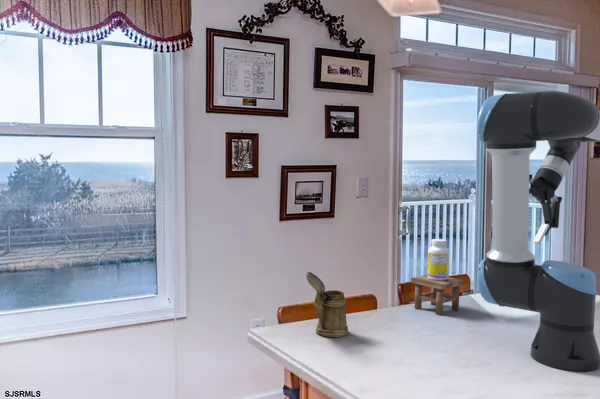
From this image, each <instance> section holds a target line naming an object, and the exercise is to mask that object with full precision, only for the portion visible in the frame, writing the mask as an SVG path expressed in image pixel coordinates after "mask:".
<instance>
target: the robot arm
mask: <svg viewBox="0 0 600 399" xmlns="http://www.w3.org/2000/svg"><path fill="white" fill-rule="evenodd" d="M476 133H477V137H478V139H479V140H480V142H483V143H485V145H486V146H485V149H486V151H487V152H488V153H489V154H490V155H491V157H492V162H491V163H492V165H491V166H492V175H491V176H492V177H491V178H492V183H491V185H492V189H491V190H492V192H491V193H492V204H491V205H492V208H491V210H492V218H491V219H492V220H491V221H492V222H491V224H492V227H491V228H492V231H491V235H492V237H491V240H492V242H491V243H492V244H491V247H492V248H491V249H489V251H488V252H486V254H485V258H483V259H481V261H480V262H479V264H478V268H477V269H478V271H477V274H476V280H477V286H478V287H477V288H478V290H479V294H480V295H481V297H482V299H483V300H484V301H485V302H487V303H489V304H493V305H496V306H499V307H503V308H504V307H506V308H511V309H518V310H522V311H529V312H535V313H539V316H540V317H539V326H538V328H537V331H536V333H535V336H534V338H533V341H532V343H531V345H530V356H531V358H532V359H533V360H535V361H537V362H538V363H540V364H543V365H546V366H548V367H551V368H556V369H560V370H566V371H572V372H574V371H575V372H589V371H592V372H593V371H596V370H598V369H600V349H599V346H598V343H597V339H596V337H595V331H594V329H595V328H594V327H595V314H596V313H595V311H596V296H597V293H598V291H597V279H596V275H595V273H594V272H593V271H592V270H591V269H589V268H587V267H584V266H582V265H578V264H575V263H572V262H567V261H562V260H561V261H560V260H545V261H543V262H542V264H541V265H539V264H536V260H535V259H536V256H535V254H533V252H532V251H531V250H530V249H529V230H530V229H529V228H530V227H529V226H530V225H529V224H530V223H529V219H530V217H529V215H530V214H529V213H530V211H529V210H530V194H531V196H532V198H535V199H536V200H537V201H539V202H540V205H541V207H542V214H543V215H542V216H543V222H544V223H542V224H541V225H540V227H539V229H538V231H537V233H536V234H535V236H534V239H533V240H532V243H534V244H541V242H542V241H543V238H545V237H546V236H547V235H548V234H549V232H550V230H551V229H558V228H559V225H560V224H559V223H560V212H561V211H560V210H561V208H560V207H561V202H562V200H563V197H562V196H558V195H556V194H555V192H556V190H557V189H558V188H559V187H560V185H561V183H562V180H563V178H564V177H565V175H566V174H567V172H568V170H569V168H570V166H571V164H572V162H573V160H574V158H575V157H576V155H577V153H578V151H579V150H580V148H581V147H582V143H597V142H598V143H600V110H599V107H598V106H597V105H596V103H595V102H593V101H592V100H590V99H588V98H586V97H583V96H581V95H578V94H573V93H570V92H566V91H565V92H564V91H556V90H544V91H533V92H532V91H531V92H530V91H529V92H515V93H503V94H495V95H491V96H488V98H486V99H485V100H484V102H483V103H482V105H481V107H480V110H479V112H478V115H477V122H476ZM544 141H547V143H548V145H549V149H548V151H547V153H546V155H545V157H544V159H543V161H542V163H541V164H540V166H539V168H538V170H537V171H536V172H535V175H534V177H533V174H530V156H531V154H532V153H533V152H534V151H535V150H536V149H537V142H544Z"/></svg>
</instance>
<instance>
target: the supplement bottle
mask: <svg viewBox="0 0 600 399" xmlns="http://www.w3.org/2000/svg"><path fill="white" fill-rule="evenodd" d="M449 270H450V249H449V248H448V247H447V239H441V238H433V239H431V247H429V248H428V250H427V275H428V278H429V279H431V280H436V281H444V280H447V279H448V277H449V273H450V272H449Z"/></svg>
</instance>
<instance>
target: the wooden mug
mask: <svg viewBox="0 0 600 399" xmlns="http://www.w3.org/2000/svg"><path fill="white" fill-rule="evenodd" d="M306 280H307V283H308V284H309V285H310V287H312V288H313V290H315V291H316V294H315V299H314V310H315V312H316V315H317V317H318V322H317V325H316V328H315V333H316V334H318V335H319V336H321V337H324V338H331V339H332V338H333V339H335V338H343V337H346V336H347V335H348V334H349V326H348V323H347V314H346V313H347V312H346V304H347V302H346V298H345V293H344V292H343V291H341V290H335V289H333V290H326V287H325V285H324V282H323V281H322V280H321V279H320V278H319V277H318V276H317V275H316V274H314V273H313V272H311V271H308V272H306Z"/></svg>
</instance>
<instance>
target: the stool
mask: <svg viewBox="0 0 600 399" xmlns="http://www.w3.org/2000/svg"><path fill="white" fill-rule="evenodd" d="M410 283H413V284H414V285H415V288H414V309H415V310H422V305H423V303H422V300H424V301H427V302H430V305H431V306H435V315H436V316H443V315H444V314H443V313H444V304H445V303H450V302H451V311H454V312H459V311H460V310H459V309H460V287H461V286H464V285H465V280H464V279H460V278H455V277H449V276H448V279H447V280H444V281H436V280H431V279H429V278H428V274H427V275H422V276H421V275H420V276H413V277H411V278H410ZM423 286H425V287H428V288H429V287H430V288H431V289H430V291H429V292H427V291H426V292H423ZM450 288H451V290H452V294H448V293H445V292H444V290H445V289H450Z"/></svg>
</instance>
